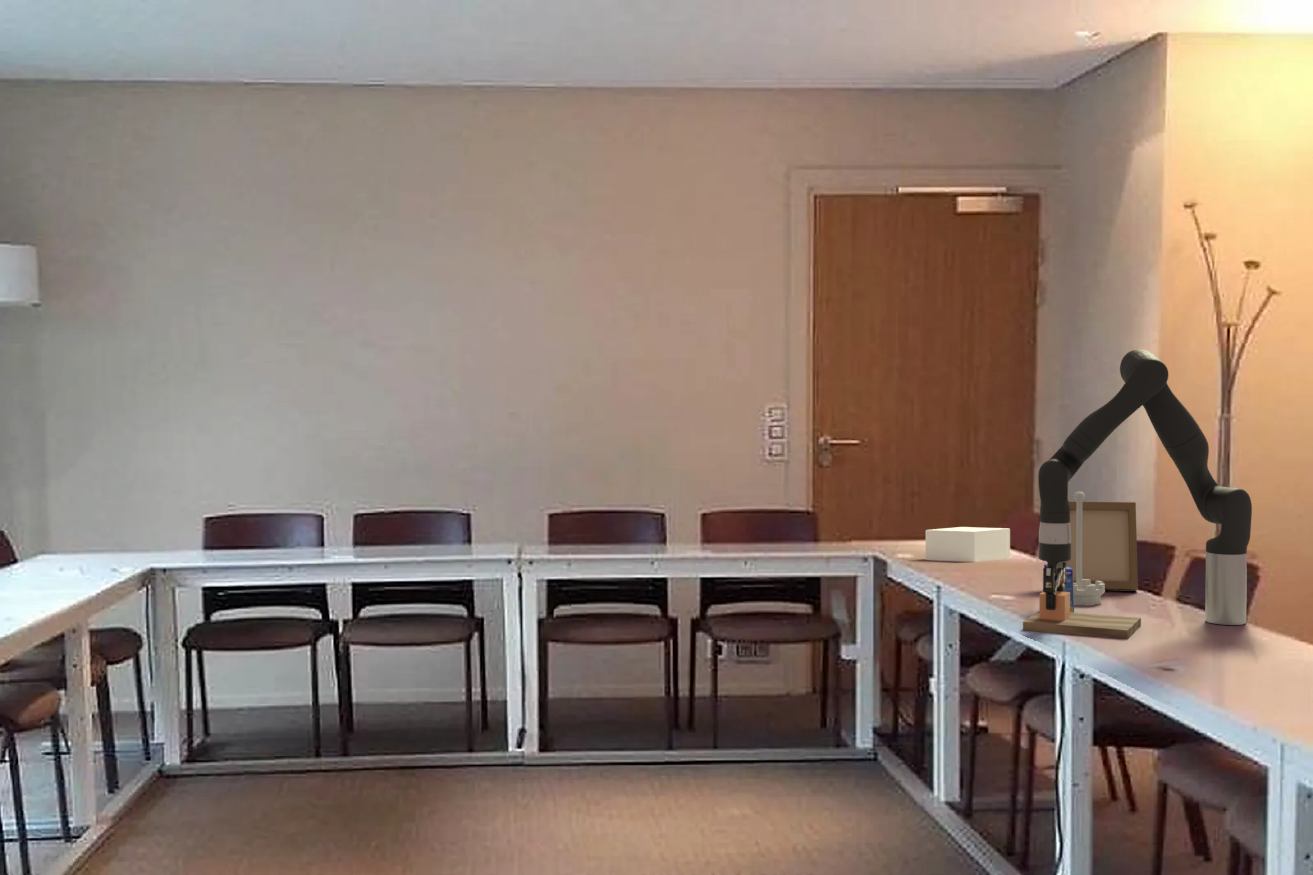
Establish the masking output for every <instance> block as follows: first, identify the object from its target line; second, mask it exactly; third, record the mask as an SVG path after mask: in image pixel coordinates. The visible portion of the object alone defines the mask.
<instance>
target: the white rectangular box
mask: <svg viewBox="0 0 1313 875" xmlns="http://www.w3.org/2000/svg"><path fill="white" fill-rule="evenodd" d="M1007 559H1011V528H1005V527H1003V528H1002V527H977V526H976V527H974V526H973V527H972V526H971V527H970V526H957V527H945V528H943V527H942V528H936V529H935V528H933V529H925V561H941V562H943V561H945V562H966V563H976V562H977V563H978V562H979V563H980V562H987V561H997V560H998V561H999V560H1007Z"/></svg>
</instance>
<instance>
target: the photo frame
mask: <svg viewBox="0 0 1313 875" xmlns="http://www.w3.org/2000/svg"><path fill="white" fill-rule="evenodd" d="M1136 503H1137V502H1134V501H1132V502H1131V501H1125V502H1124V501H1122V502H1121V501H1117V502H1116V501H1082V579H1089V580H1091V584H1095V581H1102V582H1103V584H1105V591H1133V592H1135V591H1137V590H1139V581H1138V580H1139V579H1138V575H1139V574H1138V542H1137V541H1138V540H1137V539H1138V538H1137V536H1138V535H1137V509H1136V508H1137V505H1136ZM1069 504H1070V527H1071V560H1070V561H1066V565H1067V566H1068V567H1070V568H1072V569H1073V583H1076V501H1069Z"/></svg>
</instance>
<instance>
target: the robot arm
mask: <svg viewBox="0 0 1313 875" xmlns="http://www.w3.org/2000/svg"><path fill="white" fill-rule="evenodd" d="M1119 372H1120V377H1121V379H1122V381H1123V382H1124V384H1123V386H1121V388H1120V390H1119V391H1118V392H1117V393H1116V395H1114V397H1112V398H1111V399H1110V400H1109V401H1108V402H1107V403H1105V404H1104V405H1103V406H1100V407H1099V408H1098V409H1096V410H1095V411H1093V412H1091V413H1090V414H1088V415H1087V416H1086V417H1085V418H1084V419H1082V421H1080V422H1079V424H1078V425H1077V426H1076V427H1075V428H1074V429H1073V430H1072V431H1071V432H1070V434H1069V435H1068V436H1067V437H1066V438H1065V440H1064V441H1063V443H1062V445H1061V447H1059V449H1057V451H1056V452H1055V453H1054V454H1053V455H1052V456H1051V457H1050V458H1049V459H1048V460H1046V461H1044V462H1043V463H1042V464H1041V465H1040V467H1039V469H1038V475H1037V476H1038V477H1037V478H1038V479H1037V480H1038V481H1037V482H1038V491H1039V492H1038V493H1039V498H1040V499H1039V500H1040V505H1039V518H1040V519H1039V529H1038V558H1039V560H1041V561H1042V562H1043V561H1044V562H1047V563H1046V564H1047V568H1044V567H1043V569H1042V572H1043V573H1042V592H1045V594H1046V609H1047V610H1055V609H1056V591H1060V592H1064V590H1063V589H1064V588H1065V586H1066V584H1067V582H1066V561H1070V560H1071V527H1070V504H1069V502H1070V501H1069V498H1068V497H1069V496H1068V494H1069V482H1070V481H1071V479H1072V478H1073V477H1074V476H1075V475H1076V473H1077V472H1078V471H1079V470H1080V469H1081V467H1082V466H1083V464H1084V463H1085V462H1086V461H1087V460H1088V459H1090V457H1092V455H1093V454H1094V453H1095V452H1096V451H1097V449H1098V448H1100V446H1101V445H1102V444H1103V443H1104V442H1105V441H1106V440H1107V438H1108V437H1109V436H1110V435H1111V434H1112V433H1113V432H1114V431H1115V430H1116V429H1117V428H1118V427H1120V425H1122V424H1123V423H1124V422H1125V421H1126V420H1127V419H1128V418H1129V417H1131V416H1132V415H1134V413H1135V412H1136V411H1138V410H1139V409H1140V408H1141V407H1142V406H1143V408H1144V410H1145V412H1146V415H1147V416H1148V418H1149V421H1150V422H1151V423H1150V424H1152V425H1151V426H1152V427H1153V430H1154V431H1155V433H1156V434H1157V437H1158V438H1159V440H1160V442H1161V444H1162V446H1163V448H1164V449H1165V451H1166V452H1167V454H1168V456H1169V457H1170V458H1171V459H1172V462H1173V463H1174V465H1175V467H1176V468H1177V470H1178V472H1179V474H1180V476H1181V477H1182V479H1183V480H1184V482H1185V484H1186V486H1187V488H1188V491H1189V493H1190V494H1191V498H1192V499H1193V502H1194V503H1195V504H1194V505H1196V508H1197V510H1198V512H1199V514H1200V515H1201V516H1202V518H1203V519H1204V520H1206V521H1207V522H1208V523H1212V524H1215V525H1220V526H1221V527H1220V528H1221V529H1220V533H1219V534H1218V535H1217V536H1215V537H1212V538H1209V539H1207V541H1206V543H1205V606H1204V607H1205V611H1204V613H1205V622H1207V623H1210V624H1215V625H1223V626H1224V625H1225V626H1226V625H1227V626H1239V625H1241V626H1242V625H1246V624H1247V589H1248V588H1247V585H1248V583H1247V576H1248V574H1247V573H1248V572H1247V571H1248V570H1247V564H1248V562H1247V559H1248V558H1247V555H1248V553H1247V552H1248V551H1247V550H1248V546H1249V543H1250V539H1251V530H1252V518H1253V515H1252V514H1253V506H1252V500H1251V496H1250V495H1249V493H1248V492H1247V491H1246V490H1244V489H1242V488H1241V487H1240V488H1238V487H1231V486H1229V487H1228V486H1221V485H1219V484H1218V483H1217V481H1216V480H1215V478H1214V477H1213V475H1212V474H1211V472H1210V469H1209V467H1208V462H1209V453H1210V451H1209V446H1210V445H1209V442H1208V440H1207V438H1206V436H1205V434H1204V433H1203V431H1202V429H1201V427H1200V426H1199V424H1198V423H1197V421H1196V419H1195V418H1194V417H1193V415H1192V414H1191V413H1190V412H1189V410H1188V409H1187V408H1186V407H1185V406H1184V404H1183V403H1182V402H1181V401H1180V400H1179V398H1177V396H1176V395H1175V394H1174V393H1173V391H1172V390H1171V387H1169V384H1168V381H1169V374H1170V373H1169V370H1168V367H1167V366H1166V364H1165V363H1164V362H1163V361H1162V360H1161V359H1160V358H1158V357H1157V355H1155V354H1154V353H1152V352H1150V351H1148V350H1146V349H1138V348H1137V349H1132V350H1129V351H1128V352H1127V353H1126V354H1125V355H1123V357H1122V359H1121V361H1120V365H1119ZM1061 576H1062V578H1061ZM1049 586H1051V588H1049Z"/></svg>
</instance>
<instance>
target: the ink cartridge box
mask: <svg viewBox="0 0 1313 875" xmlns="http://www.w3.org/2000/svg"><path fill="white" fill-rule="evenodd" d="M1047 564H1048V563H1044V564H1043V566H1044V567H1043V568H1047ZM1061 578H1062V576H1061ZM1066 582H1067V584H1066V586H1065V588H1064V589H1063V590H1064V592H1070V612H1073V613H1075V605H1074V587H1073V569H1072V568H1070V567H1068V566H1067V565H1066ZM1049 588H1051V586H1049Z"/></svg>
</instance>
